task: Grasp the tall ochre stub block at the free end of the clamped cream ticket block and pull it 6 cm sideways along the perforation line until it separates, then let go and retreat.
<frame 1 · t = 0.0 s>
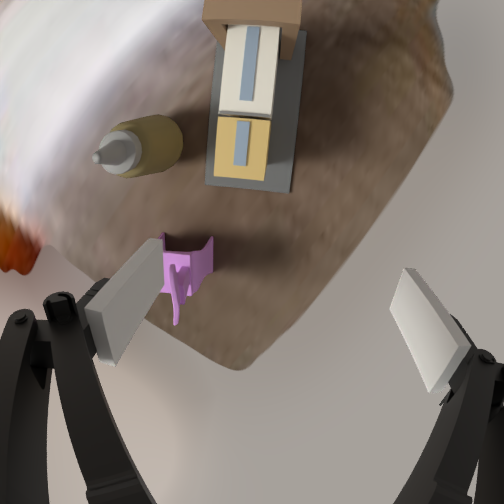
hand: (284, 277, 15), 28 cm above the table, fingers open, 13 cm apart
squeeze bottle: (164, 141, 40), on the table
mat: (254, 104, 37), on the table
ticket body: (257, 76, 35), resting on mat
stub: (246, 144, 33), point 7 cm above the table, slide at 0.0 cm
pink scoop: (186, 251, 47), on the table
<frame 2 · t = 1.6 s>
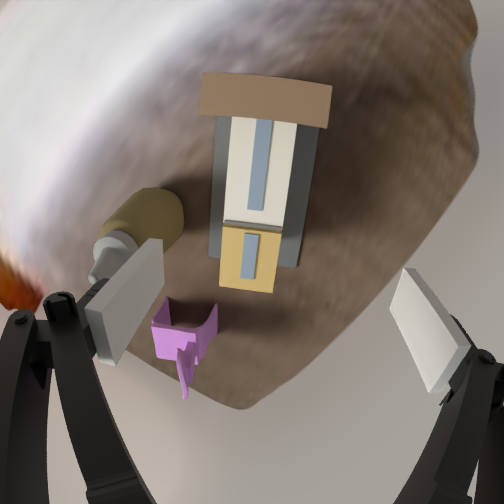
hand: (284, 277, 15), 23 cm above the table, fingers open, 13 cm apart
squeeze bottle: (164, 209, 38), on the table
mat: (262, 174, 35), on the table
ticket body: (265, 142, 33), resting on mat
stub: (253, 235, 32), point 7 cm above the table, slide at 0.0 cm
pink scoop: (190, 314, 46), on the table
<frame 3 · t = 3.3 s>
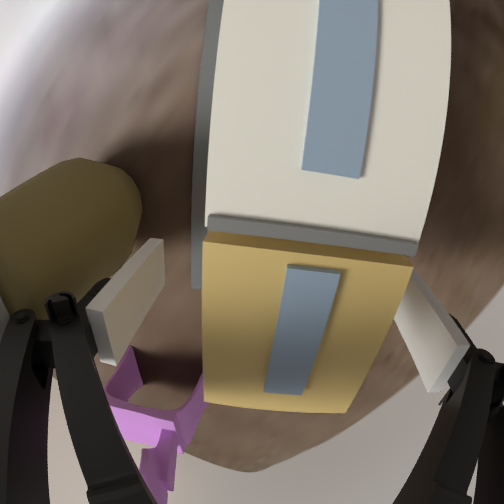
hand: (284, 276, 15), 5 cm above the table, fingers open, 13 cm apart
squeeze bottle: (110, 202, 20), on the table, touching gripper
mat: (294, 128, 17), on the table
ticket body: (302, 65, 15), resting on mat
stub: (287, 255, 13), point 7 cm above the table, slide at 0.0 cm
pink scoop: (170, 371, 27), on the table
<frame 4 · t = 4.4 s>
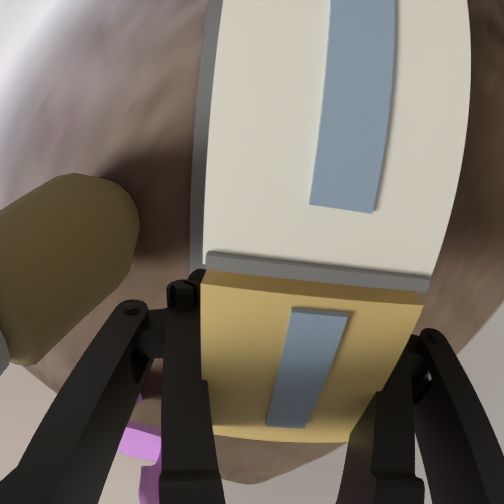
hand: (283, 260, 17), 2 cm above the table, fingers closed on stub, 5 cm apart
squeeze bottle: (107, 217, 19), on the table
mat: (296, 142, 16), on the table
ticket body: (304, 76, 14), resting on mat
stub: (289, 280, 13), point 7 cm above the table, slide at 0.1 cm, touching gripper
pink scoop: (169, 387, 27), on the table
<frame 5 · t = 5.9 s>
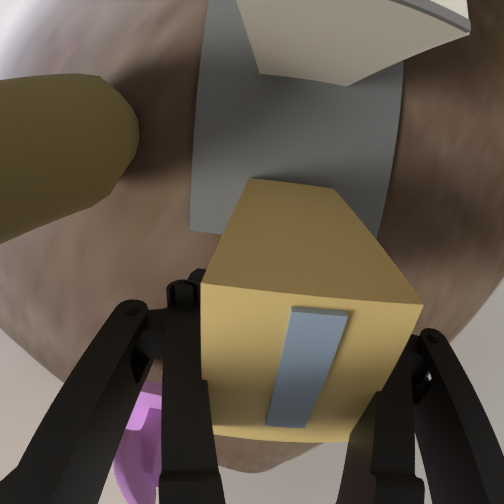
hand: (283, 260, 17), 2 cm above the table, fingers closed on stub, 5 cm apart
squeeze bottle: (104, 136, 17), on the table
mat: (306, 49, 14), on the table
stub: (289, 280, 13), point 7 cm above the table, slide at 5.9 cm, touching gripper
pink scoop: (163, 346, 24), on the table
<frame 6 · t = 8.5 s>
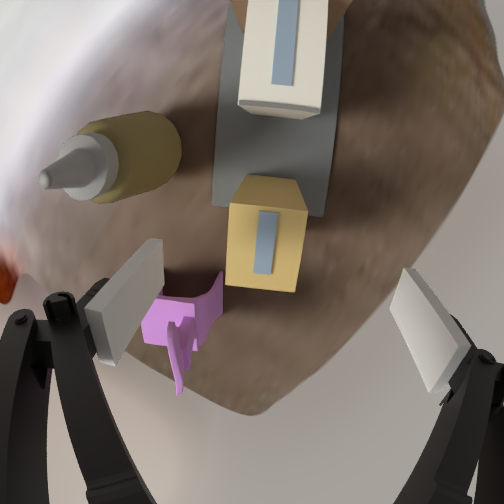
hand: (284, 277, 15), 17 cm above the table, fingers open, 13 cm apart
squeeze bottle: (157, 147, 30), on the table
mat: (278, 98, 27), on the table
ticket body: (282, 61, 25), resting on mat
stub: (266, 222, 25), point 7 cm above the table, slide at 6.0 cm
pink scoop: (188, 289, 37), on the table
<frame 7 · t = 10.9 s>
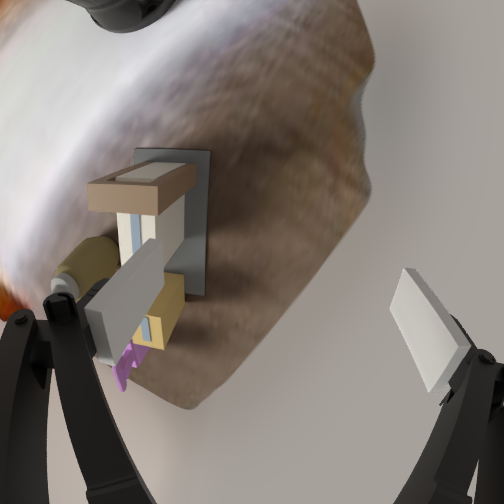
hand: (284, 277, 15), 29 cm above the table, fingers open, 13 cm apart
squeeze bottle: (107, 250, 49), on the table
mat: (169, 225, 46), on the table
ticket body: (169, 201, 44), resting on mat
stub: (159, 307, 44), point 7 cm above the table, slide at 6.0 cm
pink scoop: (135, 328, 56), on the table
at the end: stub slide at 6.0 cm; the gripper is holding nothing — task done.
